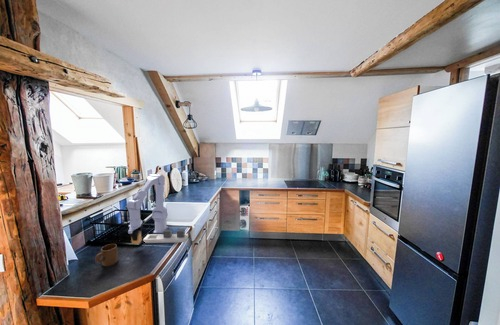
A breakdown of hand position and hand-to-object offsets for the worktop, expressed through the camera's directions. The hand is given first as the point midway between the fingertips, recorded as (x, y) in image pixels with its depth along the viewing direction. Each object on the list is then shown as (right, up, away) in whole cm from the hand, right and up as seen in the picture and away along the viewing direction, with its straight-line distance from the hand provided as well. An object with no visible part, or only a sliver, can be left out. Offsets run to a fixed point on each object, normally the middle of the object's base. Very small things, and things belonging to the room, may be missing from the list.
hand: (136, 238), depth 129 cm
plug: (0, -2, 0) cm, 2 cm away
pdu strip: (+14, -5, +12) cm, 19 cm away
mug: (-8, -9, -16) cm, 20 cm away
